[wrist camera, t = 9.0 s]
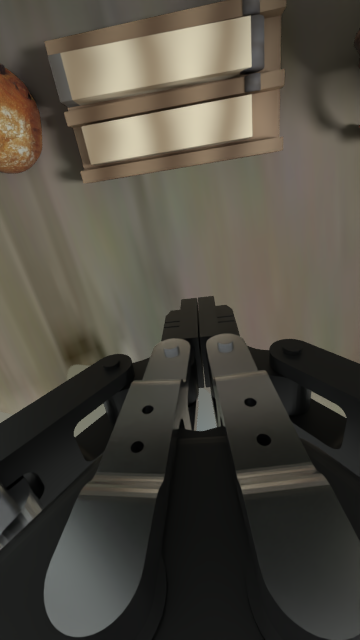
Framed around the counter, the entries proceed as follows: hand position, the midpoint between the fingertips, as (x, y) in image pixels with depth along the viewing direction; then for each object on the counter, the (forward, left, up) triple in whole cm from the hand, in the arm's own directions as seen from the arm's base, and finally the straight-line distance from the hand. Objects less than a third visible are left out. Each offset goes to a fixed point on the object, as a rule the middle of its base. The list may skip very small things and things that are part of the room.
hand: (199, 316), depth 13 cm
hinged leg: (+2, -15, -24) cm, 28 cm away
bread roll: (+21, -14, -27) cm, 37 cm away
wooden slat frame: (+1, -13, -27) cm, 30 cm away
